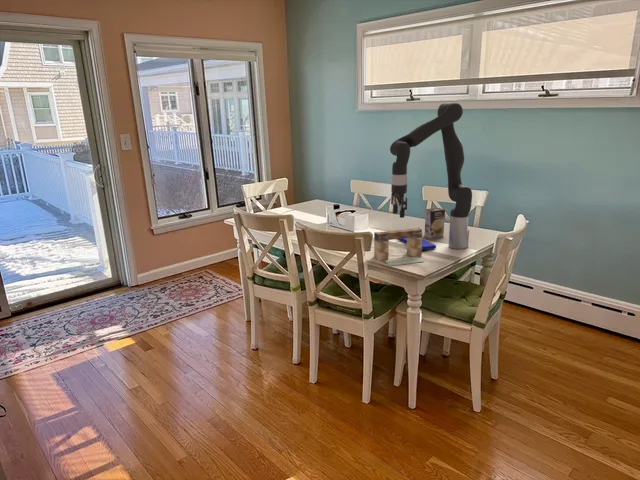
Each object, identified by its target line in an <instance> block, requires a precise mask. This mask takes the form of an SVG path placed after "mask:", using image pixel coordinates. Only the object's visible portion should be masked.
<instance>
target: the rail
mask: <svg viewBox="0 0 640 480" xmlns="http://www.w3.org/2000/svg"><path fill="white" fill-rule="evenodd" d="M419 232H422V233H423V230H422V228H420V227H413V228H406V229H398V230H397V229H396V230H387V231H386V230H385V231H377V232H376V231H375V232H374V233H373V234H374V235H373V240H374V239H375V240H376V241H378V237H382V236H389V241H391V240H400V239H402V238H411V237H412V233H419Z"/></svg>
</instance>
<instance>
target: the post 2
mask: <svg viewBox="0 0 640 480" xmlns="http://www.w3.org/2000/svg"><path fill="white" fill-rule="evenodd" d="M422 239H423V231H422V232H419V233H412V237H411V238H407V243H406V254H407V255H409V256H410V257H422V256H423V255H422V253H423V252H422V251H423V250H422Z"/></svg>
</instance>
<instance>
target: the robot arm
mask: <svg viewBox="0 0 640 480" xmlns="http://www.w3.org/2000/svg"><path fill="white" fill-rule="evenodd" d="M463 111H464V109H463V106H462V105H461V104H460V103H459V102H443V103H441V104H440V105H439V106H438V108H437V116H436V117H435V118H433V119H431V120H429V121H426V122H425V123H422V124H420V125H419V126H418V127H415V128H414V129H413V130H412V131H410V132H408V134H406V135H404V136H401V137H400V138H398V139H395V140H394V141H393V142H392V143H391V145H390V148H389V151H390V154H391V155H392V156H395V157H396V159H395V161H394V162H393V163H392V166H391V169H392V171H391V172H392V173H391V185H390V186H391V193H390V194H391V196H390V197H391V198H390V204H391V205H392V214H393V215H397V214H398V211H399V218H401V219H402V218H405V213H406V212H405V211H406V210H408V197H406V196H405V194H407V192H408V164H409V160H410V156H411V155H410V154H411V148H413V147H417V146H419V145H420V144H421V143H423V142H424V141H426V140H427V139H429V138H430V137H431V136H432V135H434V134H436V133H437V132H439V131H440V132H441V138H442V143H443V144H442V145H443V152H444V157H445V158H444V160H445V164H446V165H445V166H446V167H445V168H446V173H447V190H448V191H447V193H448V197H449V200H451V201H452V202H454V203H455V207H454V208H452V209H451V210H450V215H449V232H448V233H449V235H448V248H451V249H454V250H455V249H456V250H463V249H466V248H468V247H469V238H470V230H469V228H468V227H469V215H470V212H471V209H472V200H473V192H472V189H471V188H470V187H469V186H467V185H463V183H462V178H461V175H462V174H461V173H462V170H463V166H464V163H465V152H464V146H463V144H462V141H461V139H460V138H459V135H458V134H457V131H456V128H455V123H456V122H458V121H459V120H460V119H461V118H462V116H463V113H464V112H463Z"/></svg>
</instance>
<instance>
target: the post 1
mask: <svg viewBox="0 0 640 480" xmlns="http://www.w3.org/2000/svg"><path fill="white" fill-rule="evenodd" d="M373 240H374V242H373V243H374V244H373V247H374V248H373V255H374V256H373V257H374V258H375V259H376V260H377V261H378V262H383V261H384V262H385V260H389V255H390V254H389V246H390V243H389V241H390V240H389V236H382V237H378V241H376V240H375V239H374V238H373Z"/></svg>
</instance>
